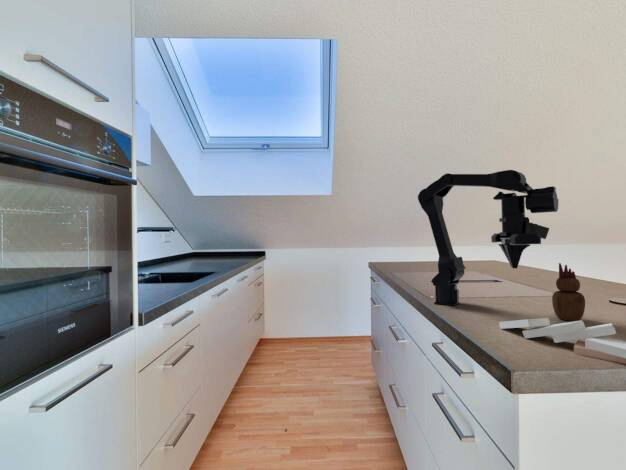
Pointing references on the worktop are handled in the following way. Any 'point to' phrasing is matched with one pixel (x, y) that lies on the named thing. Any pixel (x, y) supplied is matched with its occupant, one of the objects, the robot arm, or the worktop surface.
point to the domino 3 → (586, 333)
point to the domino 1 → (525, 323)
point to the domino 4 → (595, 353)
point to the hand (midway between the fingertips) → (514, 268)
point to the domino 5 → (607, 345)
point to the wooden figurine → (568, 296)
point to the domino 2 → (554, 329)
